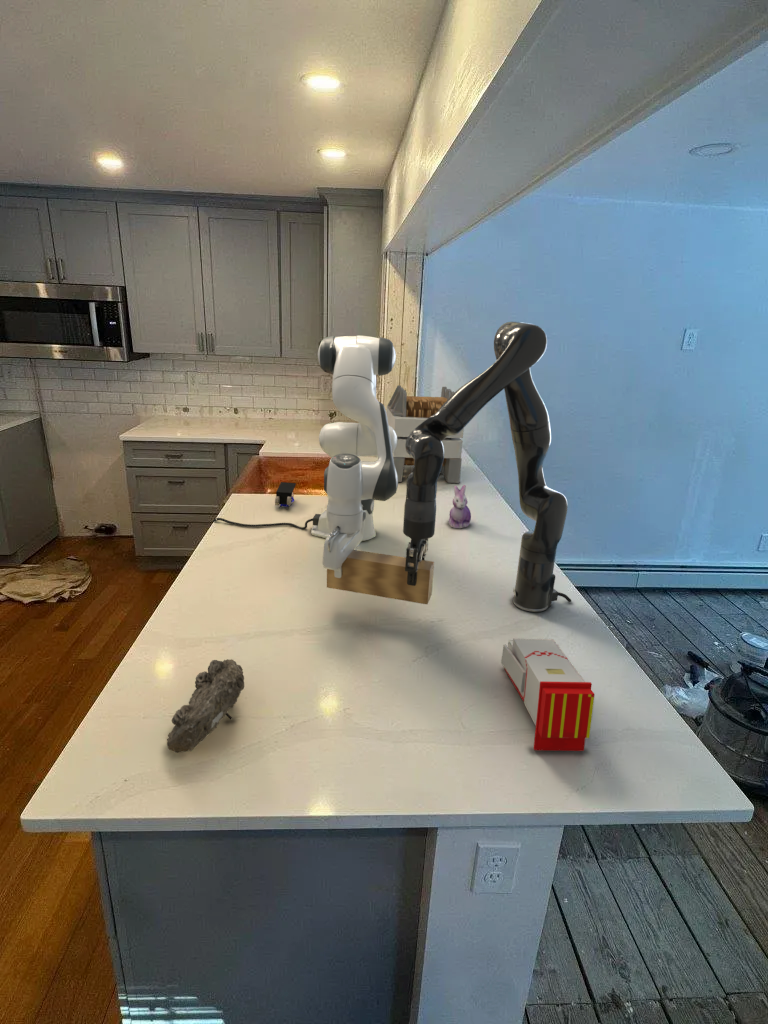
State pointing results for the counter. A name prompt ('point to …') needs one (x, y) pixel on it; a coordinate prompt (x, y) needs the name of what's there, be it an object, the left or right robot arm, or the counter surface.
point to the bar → (383, 577)
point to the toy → (550, 693)
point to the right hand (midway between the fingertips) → (415, 577)
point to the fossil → (206, 705)
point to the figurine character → (285, 494)
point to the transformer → (410, 414)
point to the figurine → (459, 509)
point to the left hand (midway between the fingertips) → (343, 571)
